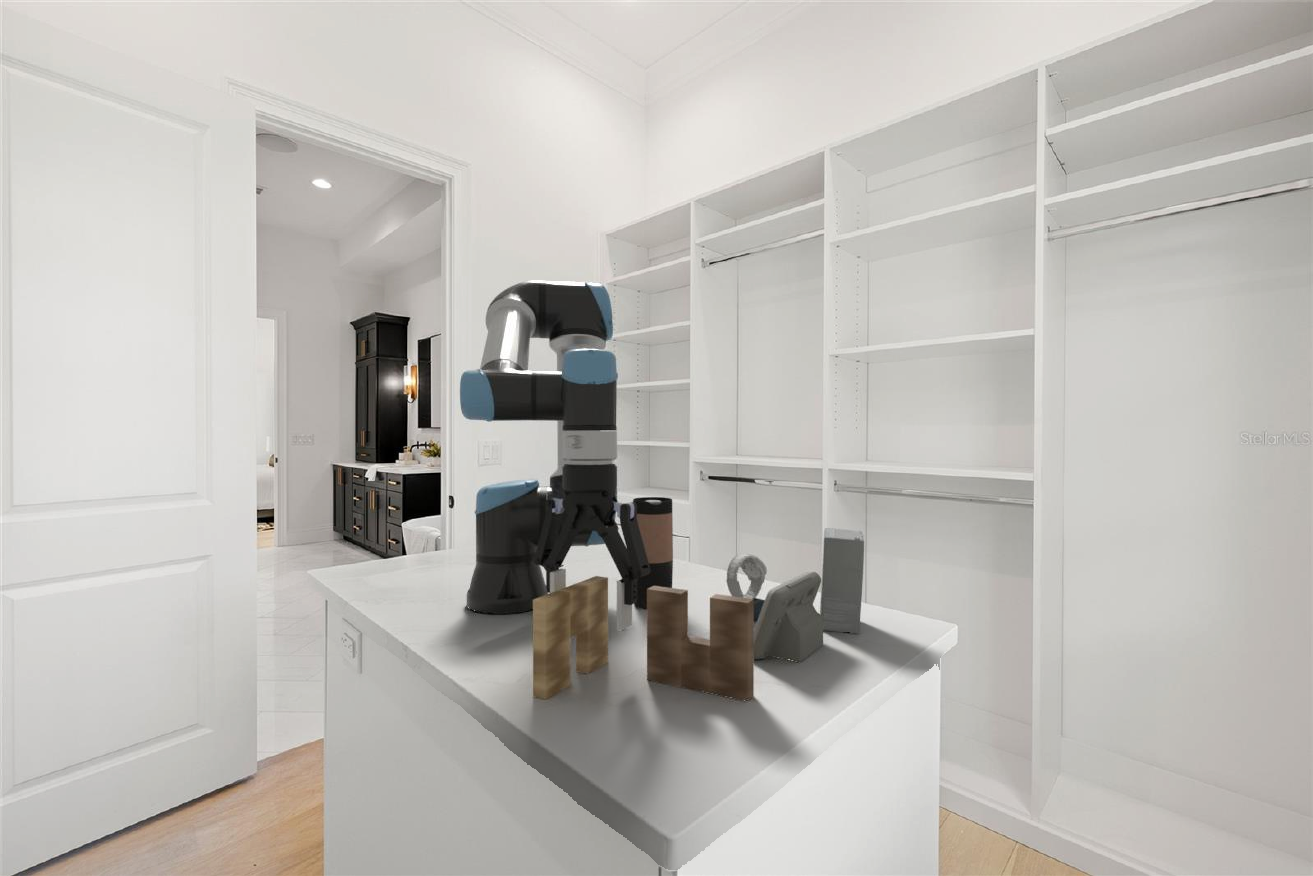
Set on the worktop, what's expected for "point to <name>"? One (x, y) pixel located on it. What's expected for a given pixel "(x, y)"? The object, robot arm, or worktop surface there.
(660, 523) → the travel mug
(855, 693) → the worktop surface
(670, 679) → the notched stand
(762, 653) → the digital clock
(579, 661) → the notched board
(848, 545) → the skincare box
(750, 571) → the watch
